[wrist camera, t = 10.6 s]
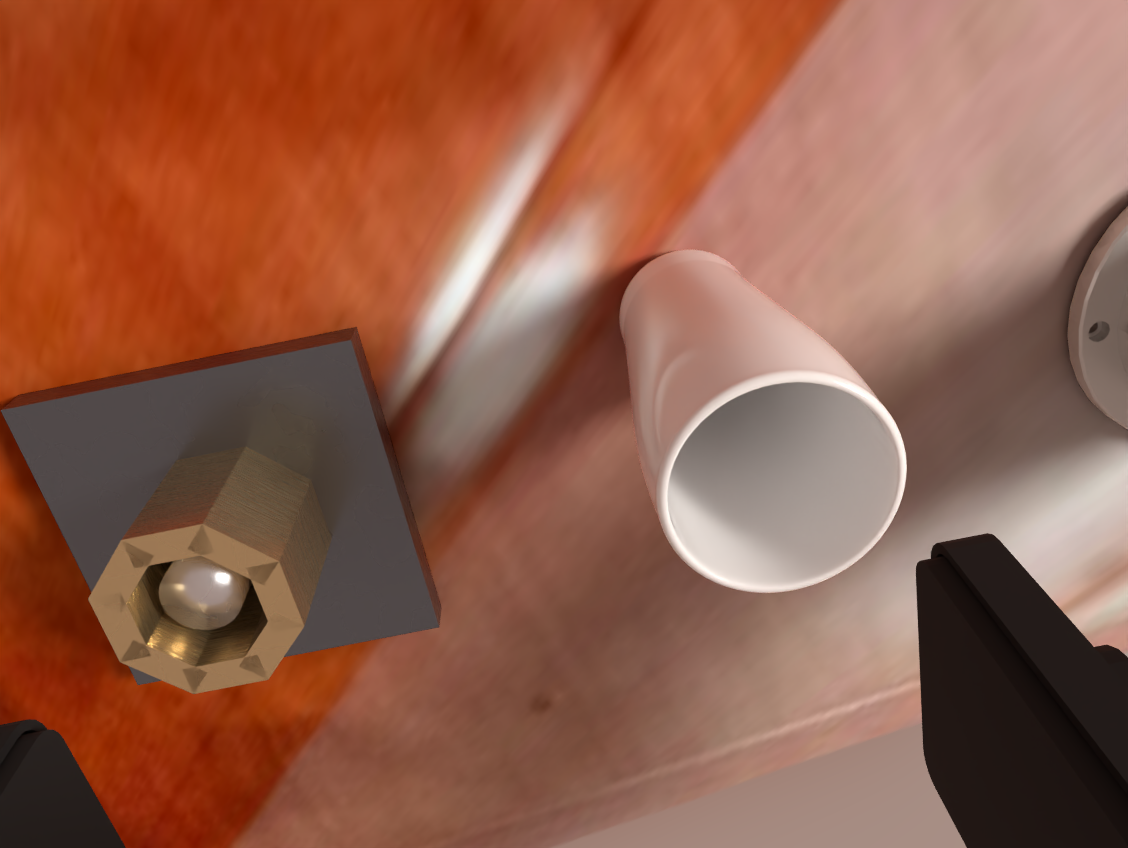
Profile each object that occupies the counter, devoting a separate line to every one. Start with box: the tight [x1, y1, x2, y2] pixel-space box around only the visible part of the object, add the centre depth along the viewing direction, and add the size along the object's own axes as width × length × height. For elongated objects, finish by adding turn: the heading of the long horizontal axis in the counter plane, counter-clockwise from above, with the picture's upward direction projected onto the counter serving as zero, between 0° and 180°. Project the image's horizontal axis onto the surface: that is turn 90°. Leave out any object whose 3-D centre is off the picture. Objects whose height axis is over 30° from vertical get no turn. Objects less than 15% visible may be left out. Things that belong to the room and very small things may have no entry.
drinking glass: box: [619, 249, 907, 593], centre depth 31 cm, size 7×7×15 cm
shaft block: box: [1, 327, 441, 685], centre depth 37 cm, size 14×14×6 cm
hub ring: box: [88, 446, 332, 694], centre depth 36 cm, size 7×7×6 cm
